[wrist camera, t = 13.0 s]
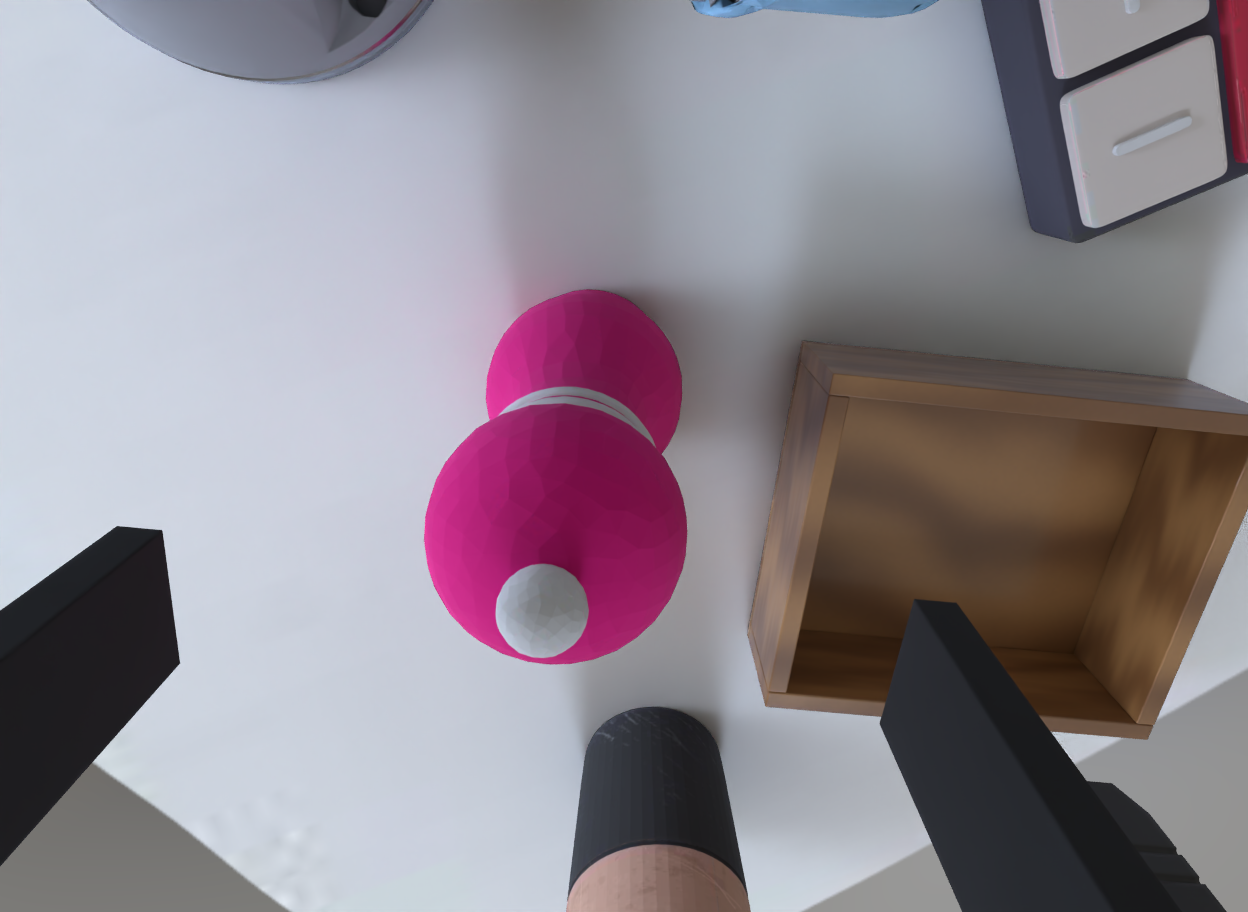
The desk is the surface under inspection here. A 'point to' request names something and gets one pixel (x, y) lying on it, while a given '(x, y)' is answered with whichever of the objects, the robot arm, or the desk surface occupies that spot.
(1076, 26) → the black red grey box
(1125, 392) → the wooden box
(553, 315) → the pepper mill
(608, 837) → the travel mug
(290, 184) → the desk surface
